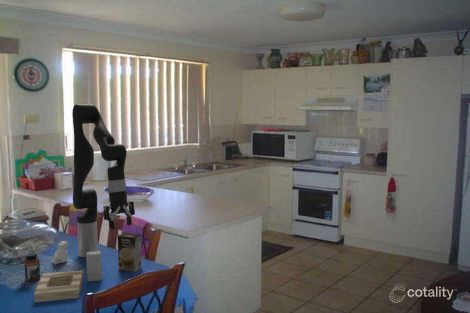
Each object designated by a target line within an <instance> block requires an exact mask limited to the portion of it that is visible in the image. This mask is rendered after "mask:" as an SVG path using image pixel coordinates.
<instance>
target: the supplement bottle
mask: <svg viewBox="0 0 470 313" xmlns="http://www.w3.org/2000/svg"><path fill="white" fill-rule="evenodd" d="M37 255H38V254H37V253H36V252H28V253H27V254H26V256H25V257H26V258H25V259H24V261H23V264H24V265H23V266H24V279H25V281H26V282H36V281H38V280H39V279H41V266H40V258H39V257H38V256H37Z"/></svg>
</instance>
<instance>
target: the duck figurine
mask: <svg viewBox="0 0 470 313" xmlns="http://www.w3.org/2000/svg"><path fill="white" fill-rule="evenodd" d="M67 248H69V242H68V241H67V240H61V241H59V242H58V244H57V250H55V252H54V253H53V257H52V261H53V264H54V265H59V264H62V263H66V261H67V259H68V258H69V252H68V251H67V250H66V249H67Z"/></svg>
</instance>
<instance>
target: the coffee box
mask: <svg viewBox="0 0 470 313" xmlns="http://www.w3.org/2000/svg"><path fill="white" fill-rule="evenodd" d="M117 255H118V256H117V259H118V262H117V265H118V267H117V269H118V270H119V271H123V272H124V271H125V272H131V273H136V272H139V270H140V269H142V264H143V263H142V258H143V257H142V234H140V233H133V232H123V233H121V234H119V235H118V236H117Z"/></svg>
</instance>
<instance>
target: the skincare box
mask: <svg viewBox="0 0 470 313" xmlns="http://www.w3.org/2000/svg"><path fill="white" fill-rule="evenodd" d="M85 259H86V262H85V263H86V274H87V277H86V278H87V282H97V281H98V282H99V281H103V268H102V267H103V263H102V251H101V250H98V251H94V252H87V254H86V258H85Z"/></svg>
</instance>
